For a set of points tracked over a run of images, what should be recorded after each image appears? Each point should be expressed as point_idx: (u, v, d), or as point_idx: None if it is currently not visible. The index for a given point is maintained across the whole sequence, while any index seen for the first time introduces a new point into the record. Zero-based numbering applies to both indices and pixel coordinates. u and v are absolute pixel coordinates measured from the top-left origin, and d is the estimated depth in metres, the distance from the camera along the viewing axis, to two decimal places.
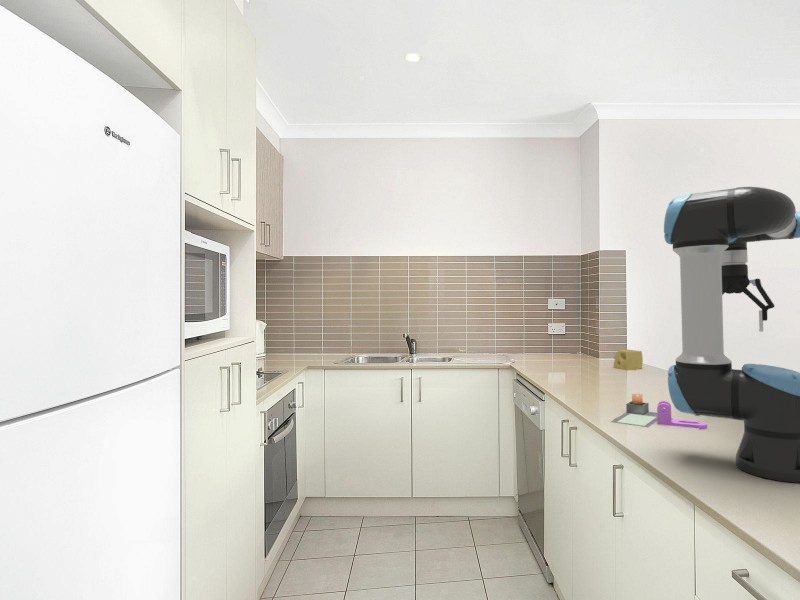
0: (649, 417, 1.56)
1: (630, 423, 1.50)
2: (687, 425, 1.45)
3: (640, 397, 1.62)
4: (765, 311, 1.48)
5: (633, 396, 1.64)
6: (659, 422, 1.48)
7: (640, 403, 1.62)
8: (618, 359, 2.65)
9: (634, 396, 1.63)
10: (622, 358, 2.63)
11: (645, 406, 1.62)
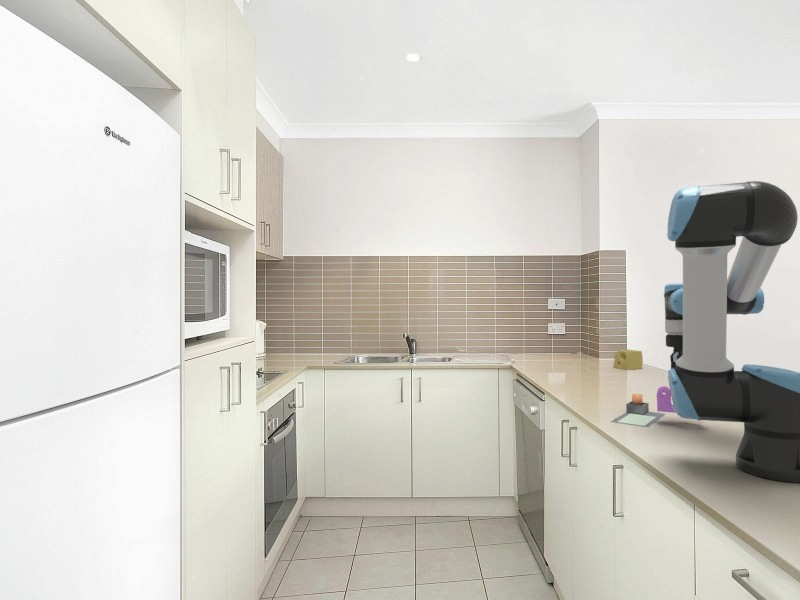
0: (649, 417, 1.56)
1: (630, 423, 1.50)
2: None
3: (640, 397, 1.62)
4: None
5: (633, 396, 1.64)
6: (659, 407, 1.48)
7: (640, 403, 1.62)
8: (618, 359, 2.65)
9: (634, 396, 1.63)
10: (622, 358, 2.63)
11: (645, 406, 1.62)
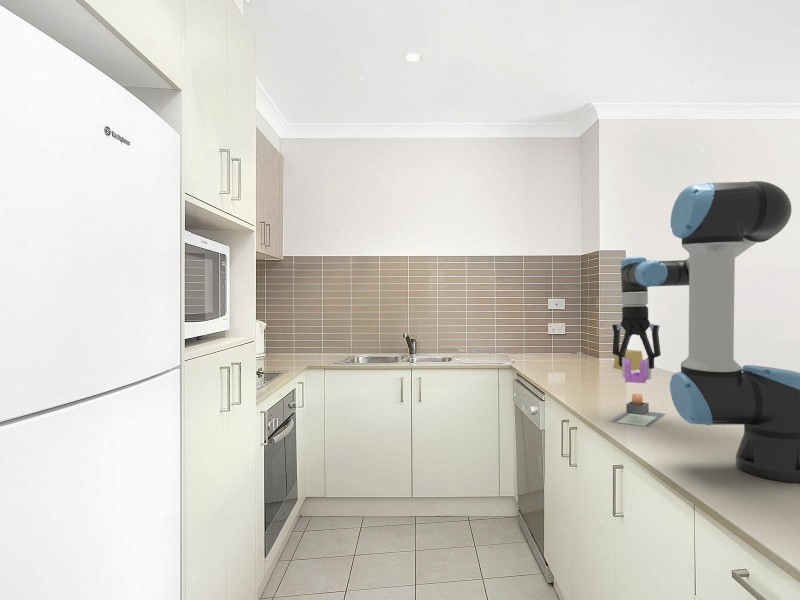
0: (649, 417, 1.56)
1: (630, 423, 1.50)
2: None
3: (640, 397, 1.62)
4: (651, 359, 1.51)
5: (633, 396, 1.64)
6: (645, 379, 1.48)
7: (640, 403, 1.62)
8: (618, 359, 2.65)
9: (634, 396, 1.63)
10: None
11: (645, 406, 1.62)
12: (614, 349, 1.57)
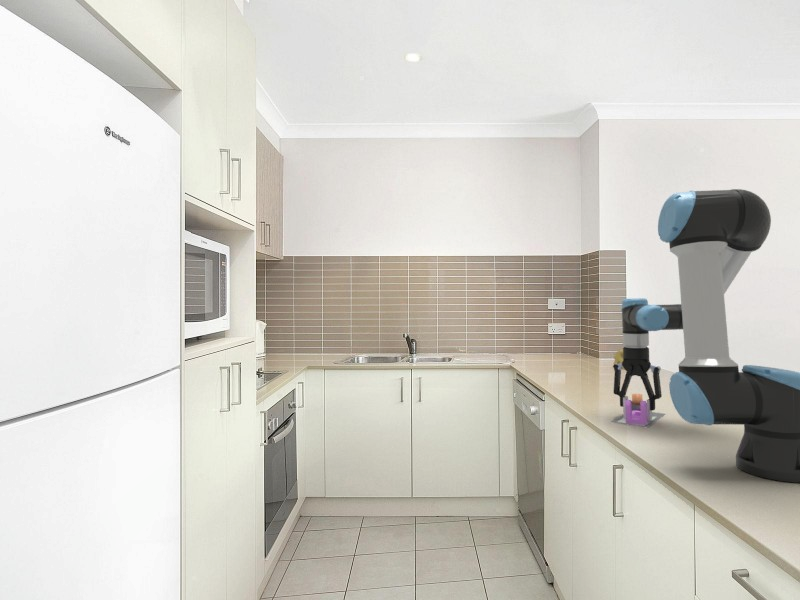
0: None
1: None
2: None
3: (640, 397, 1.62)
4: (652, 401, 1.51)
5: (633, 396, 1.64)
6: (645, 420, 1.48)
7: None
8: (618, 359, 2.65)
9: (634, 396, 1.63)
10: (622, 358, 2.63)
11: None
12: (615, 389, 1.57)
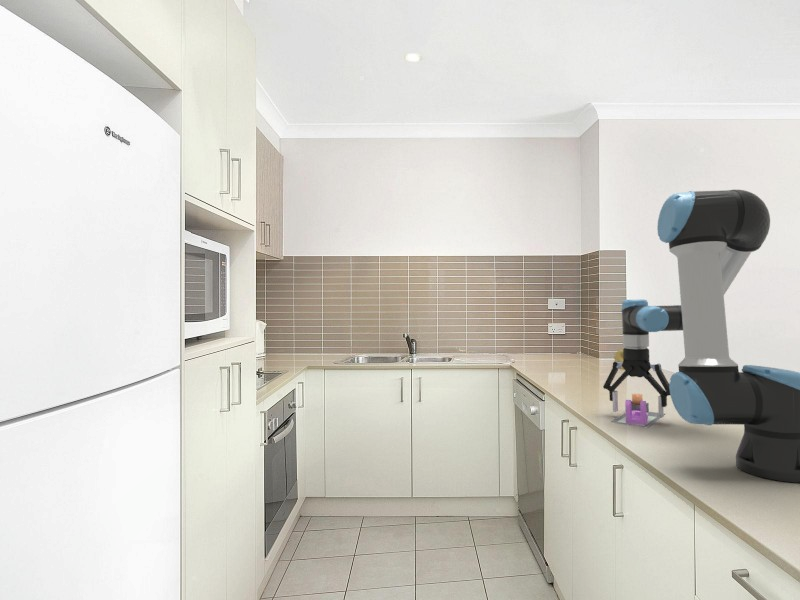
0: (649, 417, 1.56)
1: None
2: (647, 416, 1.54)
3: (640, 397, 1.62)
4: (664, 397, 1.48)
5: (633, 396, 1.64)
6: (645, 420, 1.48)
7: None
8: (618, 359, 2.65)
9: (634, 396, 1.63)
10: (622, 358, 2.63)
11: None
12: (606, 384, 1.59)
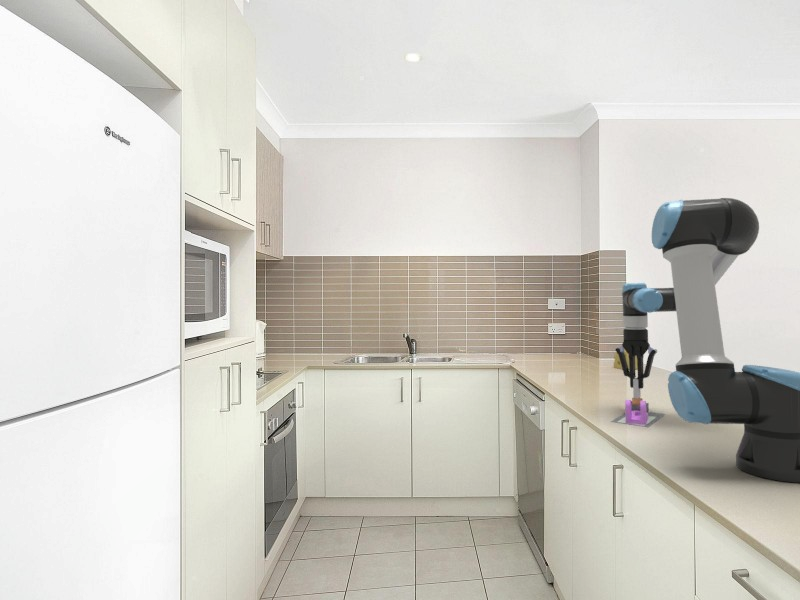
0: (649, 417, 1.56)
1: None
2: (647, 416, 1.54)
3: None
4: (641, 380, 1.63)
5: (633, 400, 1.64)
6: (645, 420, 1.48)
7: None
8: (618, 359, 2.65)
9: (634, 400, 1.63)
10: None
11: None
12: (624, 371, 1.65)
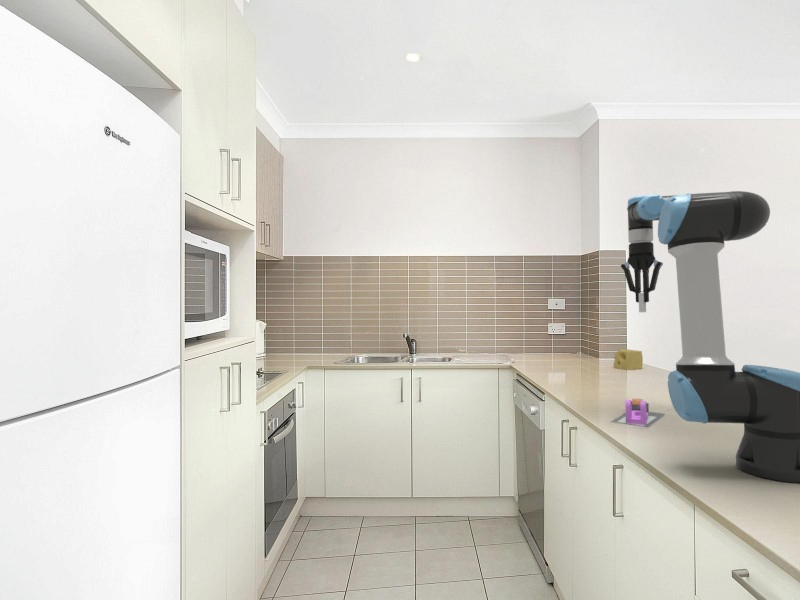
0: (649, 417, 1.56)
1: None
2: (647, 415, 1.54)
3: None
4: (646, 293, 1.62)
5: (633, 401, 1.64)
6: (645, 420, 1.48)
7: None
8: (618, 359, 2.65)
9: (634, 401, 1.63)
10: (622, 358, 2.63)
11: None
12: (630, 286, 1.65)
